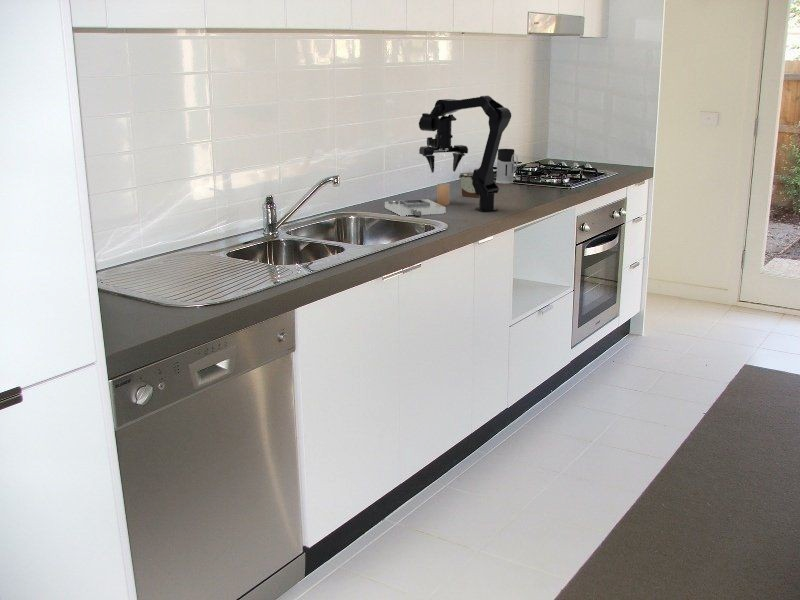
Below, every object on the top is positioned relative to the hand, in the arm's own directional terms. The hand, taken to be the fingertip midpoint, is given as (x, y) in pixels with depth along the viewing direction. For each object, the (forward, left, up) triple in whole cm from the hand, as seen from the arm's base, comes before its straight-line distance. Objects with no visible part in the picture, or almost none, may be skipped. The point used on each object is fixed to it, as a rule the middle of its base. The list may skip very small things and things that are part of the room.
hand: (443, 172), depth 349 cm
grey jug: (+42, -50, -13) cm, 67 cm away
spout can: (0, 0, -13) cm, 13 cm away
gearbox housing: (-12, +16, -13) cm, 23 cm away
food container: (+11, -19, -13) cm, 26 cm away
